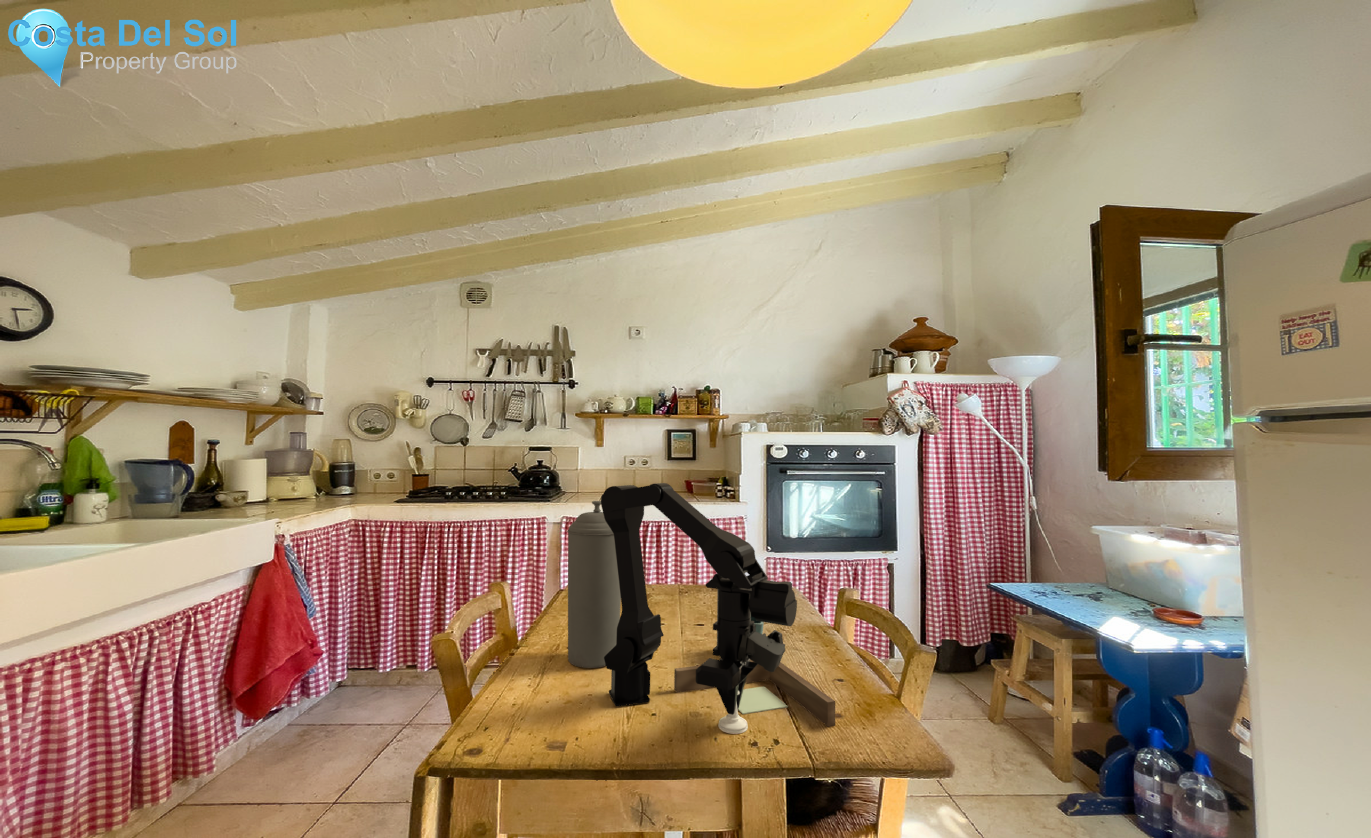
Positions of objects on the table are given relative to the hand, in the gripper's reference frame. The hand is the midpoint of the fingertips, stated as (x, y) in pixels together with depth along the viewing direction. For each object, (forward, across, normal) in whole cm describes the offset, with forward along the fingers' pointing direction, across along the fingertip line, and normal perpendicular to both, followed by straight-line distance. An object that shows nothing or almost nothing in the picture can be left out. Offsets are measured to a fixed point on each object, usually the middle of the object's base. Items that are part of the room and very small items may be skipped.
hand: (733, 711), depth 92 cm
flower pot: (+3, +32, +9) cm, 33 cm away
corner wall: (+2, +8, 0) cm, 9 cm away
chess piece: (+3, 0, 0) cm, 3 cm away
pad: (+2, +11, 0) cm, 12 cm away
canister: (+3, +14, +38) cm, 41 cm away
